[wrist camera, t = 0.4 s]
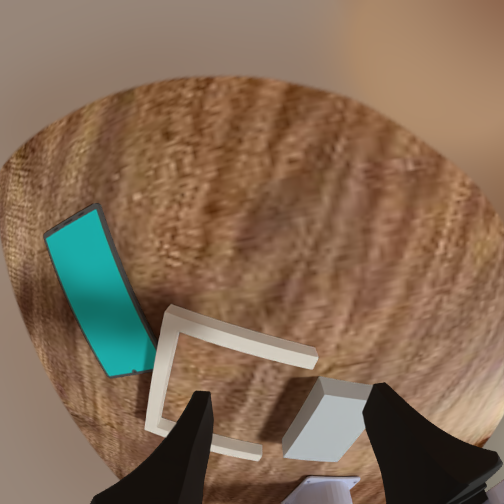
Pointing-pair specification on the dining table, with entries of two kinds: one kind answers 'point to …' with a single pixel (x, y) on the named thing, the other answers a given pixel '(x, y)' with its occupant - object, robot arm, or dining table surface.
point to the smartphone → (101, 294)
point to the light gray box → (327, 421)
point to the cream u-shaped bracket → (224, 336)
